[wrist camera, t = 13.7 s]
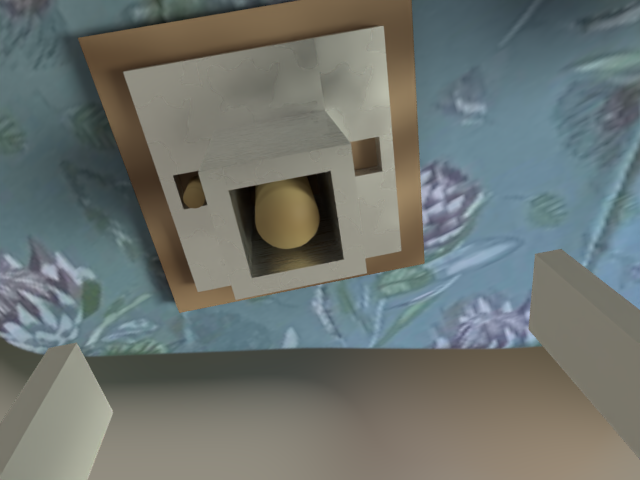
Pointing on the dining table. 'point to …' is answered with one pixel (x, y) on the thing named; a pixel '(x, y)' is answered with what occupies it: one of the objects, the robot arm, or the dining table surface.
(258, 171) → the flange
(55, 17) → the dining table surface
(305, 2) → the post board
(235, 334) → the dining table surface
